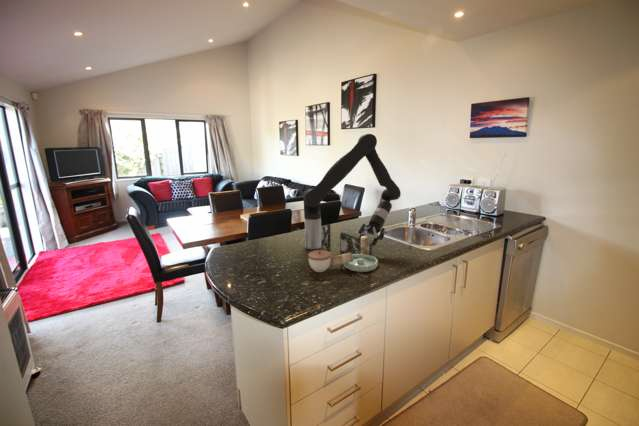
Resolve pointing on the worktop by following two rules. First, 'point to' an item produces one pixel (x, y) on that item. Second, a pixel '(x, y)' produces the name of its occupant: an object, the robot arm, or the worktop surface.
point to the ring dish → (362, 263)
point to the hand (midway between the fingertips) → (365, 243)
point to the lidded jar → (319, 260)
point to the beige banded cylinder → (341, 259)
